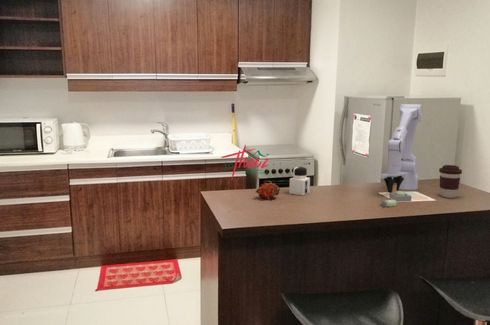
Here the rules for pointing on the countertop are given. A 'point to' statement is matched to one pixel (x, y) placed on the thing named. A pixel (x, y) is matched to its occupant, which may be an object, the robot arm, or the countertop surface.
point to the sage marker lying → (388, 203)
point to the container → (299, 182)
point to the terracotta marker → (394, 187)
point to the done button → (400, 193)
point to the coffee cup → (449, 180)
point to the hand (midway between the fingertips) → (392, 191)
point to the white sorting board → (408, 197)
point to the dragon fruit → (268, 190)
